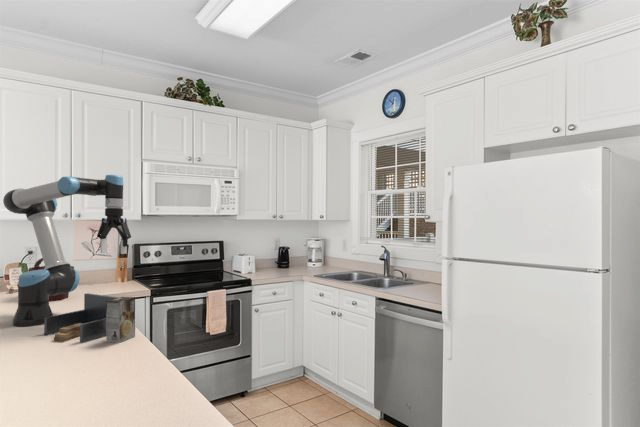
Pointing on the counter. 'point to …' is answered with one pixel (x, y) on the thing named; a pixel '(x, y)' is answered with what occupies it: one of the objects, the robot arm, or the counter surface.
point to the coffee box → (120, 319)
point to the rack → (83, 318)
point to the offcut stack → (68, 333)
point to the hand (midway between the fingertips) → (113, 253)
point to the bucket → (55, 297)
